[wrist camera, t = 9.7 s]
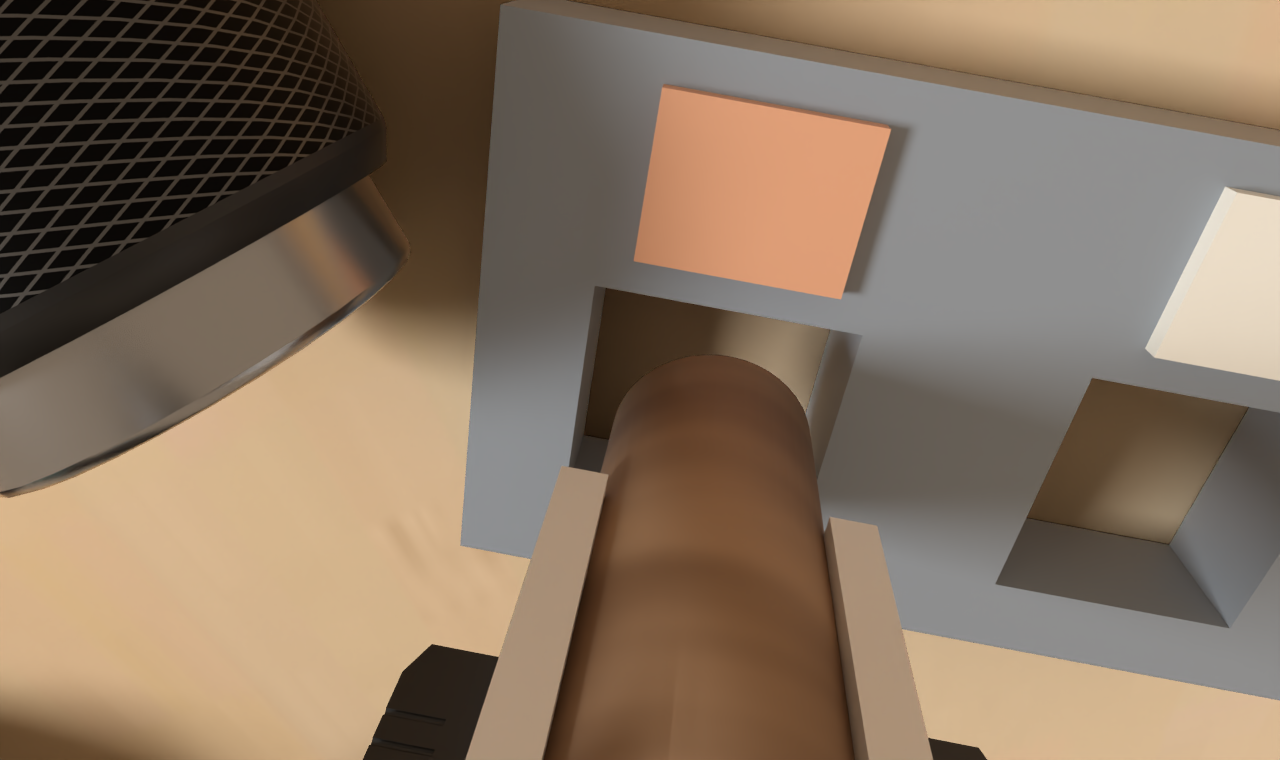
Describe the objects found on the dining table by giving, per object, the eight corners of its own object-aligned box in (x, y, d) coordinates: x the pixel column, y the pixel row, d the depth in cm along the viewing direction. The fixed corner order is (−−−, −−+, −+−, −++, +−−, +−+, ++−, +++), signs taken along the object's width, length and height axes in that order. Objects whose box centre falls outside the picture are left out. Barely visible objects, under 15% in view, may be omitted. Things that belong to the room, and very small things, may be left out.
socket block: (1223, 613, 23) (1299, 715, 20) (492, 475, 23) (455, 556, 20) (1511, 172, 17) (1679, 222, 14) (535, -6, 17) (494, 6, 14)
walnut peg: (783, 539, 18) (846, 1401, 7) (599, 503, 18) (400, 1305, 7) (834, 376, 16) (1015, 1223, 5) (628, 336, 16) (417, 1097, 6)
